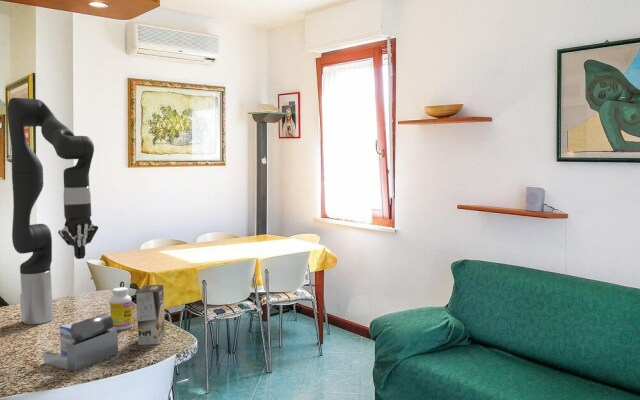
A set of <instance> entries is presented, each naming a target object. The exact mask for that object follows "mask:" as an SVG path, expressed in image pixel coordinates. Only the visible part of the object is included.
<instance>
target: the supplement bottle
mask: <svg viewBox="0 0 640 400" xmlns="http://www.w3.org/2000/svg"><path fill="white" fill-rule="evenodd" d="M128 293H129V288H127V287H124V286H122V287H121V286H120V287H115V288H113V289H112V294H113V296H111V297H110V299H109V309H110V313H109V315H110V316H111V318H112V320H113V329H117V331H121V330H128V329H130V328H131V327H133V307H132V306H133V305H132V304H133V303H132V301H133V300H132V296H130V295H128Z"/></svg>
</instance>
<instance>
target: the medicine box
mask: <svg viewBox="0 0 640 400" xmlns="http://www.w3.org/2000/svg"><path fill="white" fill-rule="evenodd" d="M74 323H75V322H70V323H66V324H62V325H60V326H59V340H60V341H59V342H60V346H59V347H60V354H61V355H65V356H67V346H66V344H67V343H69V342H72V341H75V340H74V339H73V338H72V336H71V332H70V329H71V326H72V325H73V324H74Z"/></svg>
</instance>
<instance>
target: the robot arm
mask: <svg viewBox="0 0 640 400" xmlns="http://www.w3.org/2000/svg"><path fill="white" fill-rule="evenodd" d="M6 110H7V111H6V112H7V125H8V130H9V131H8V133H9V138H10V147H11V149H10V152H11V181H12V193H13V194H12V198H13V199H12V200H13V201H12V202H13V211H12V214H13V215H12V231H11V232H12V233H11V238H12V246H13V248H14V250H15V252H17V253H18V254H29V253H31V254H32V255H30V256H29V258H28V259H27V260H26V261H23V262H22V263H21V264H20V265H19V272H20V275H19V276H20V287H21V288H20V290H21V291H20V292H21V293H20V295H19V297H20V313H21V314H20V315H21V316H20V317H21V321H22V323H23V324H24V325H40V324H41V325H42V324H45V323H48V322H51V321H53V320H54V309H53V308H54V307H53V306H54V305H53V304H54V303H53V290H52V289H53V288H52V286H53V285H52V274H51V265H52V261H53V237H52V231H51V229H50V228H49V226H48V225H47V224H44V223H34V224H33V223H32V224H31V214H32V210H33V208H34V205H35V203H36V202H37V201H38V199H39V196H40V195H41V194H42V193H41V192H42V190H43V188H44V168H43V164H42V162H41V160H40V159H39V157H38V156H37V155H36V153H35V152H34V151H33V149H32V148H31V147H30V145H29V143H28V141H27V138H26V134H25V130H24V129H25V127H26V128H27V127H31V128H36V127H40V130H41V134H42V137H43V138H44V139H45V141H47V142H48V143H49V144H51V145H52V146H53V148H54V151H55V153H56V155H57V156H58V157H59V158H60V159H63V160H77V162H76V164H75V165H74V166H70V167H67V168H65V169H64V170H63V212H64V214H63V215H64V218H65V223H64V227H63V228H62V229H61V230H60V229H59V230H58V232H57V233H58V235H59V236H60V238H62V239H63V241H64V242H65V243H66V244H67V245H68V246H72V247H73V253H74V254H73V255H74V258H75V259H77V260H82V259H85V256H86V245H88V244H91V242H92V240H93V238H94V237H95V235H96V233H97V232H98V229H99V226H97V225H94V224H93V223H92V219H91V217H92V199H91V198H92V196H91V190H90V169H91V164H92V161H93V156H94V152H95V146H94V142H93V140H92V138H90V137H89V136H87V135H75V134H74V132H73V131H72V130H71V129H70V128H69V127H68V126H66V125H65V124H63V123H62V122H61V121H60V120H58V118H57V117H56V116H55V114H54V113H53V112H52V111H51V109H50V107H48V105H46V103H45V102H44V101H42V100H41V99H38V98H25V97H24V98H23V97H12V98H10V99H9V101H8V103H7V109H6Z"/></svg>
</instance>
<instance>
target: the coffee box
mask: <svg viewBox="0 0 640 400" xmlns="http://www.w3.org/2000/svg"><path fill="white" fill-rule="evenodd" d="M164 292H165V291H164V284H150V285H143V286H141V287H140V288H139V289H138V290H137V291H136V292H135V294H136V320H137V321H136V322H137V344H138V346H139V345H140V346H143V345H144V346H147V345H148V346H149V345H150V346H151V345H160V343H161V341H162V340H163V339H164V337H165V335H166V324H165V323H166V322H165V319H166V318H165V299H164V298H165V295H164Z"/></svg>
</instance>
